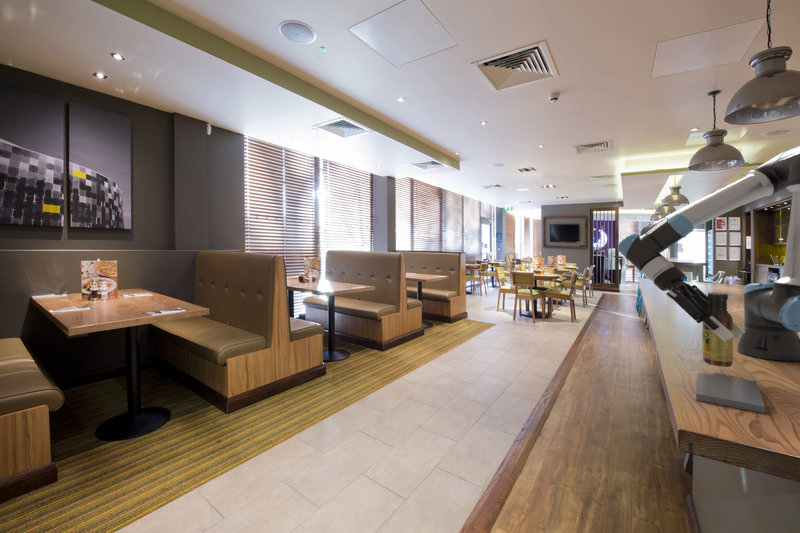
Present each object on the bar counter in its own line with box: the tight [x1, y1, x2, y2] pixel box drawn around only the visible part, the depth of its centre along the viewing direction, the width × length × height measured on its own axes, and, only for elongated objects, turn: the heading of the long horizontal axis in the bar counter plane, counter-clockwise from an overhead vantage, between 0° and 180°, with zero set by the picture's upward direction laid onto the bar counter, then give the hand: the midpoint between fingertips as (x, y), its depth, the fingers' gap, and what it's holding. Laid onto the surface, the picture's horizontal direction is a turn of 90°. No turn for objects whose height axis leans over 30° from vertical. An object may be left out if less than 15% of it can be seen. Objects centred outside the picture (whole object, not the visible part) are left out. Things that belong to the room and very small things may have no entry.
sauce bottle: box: [702, 292, 734, 368], centre depth 95 cm, size 7×6×20 cm
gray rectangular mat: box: [695, 371, 766, 414], centre depth 83 cm, size 18×11×2 cm, turn 138°
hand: (734, 336), depth 92 cm, fingers closed on sauce bottle, 6 cm apart
